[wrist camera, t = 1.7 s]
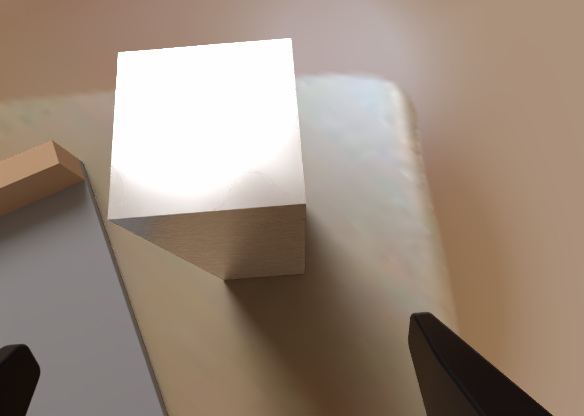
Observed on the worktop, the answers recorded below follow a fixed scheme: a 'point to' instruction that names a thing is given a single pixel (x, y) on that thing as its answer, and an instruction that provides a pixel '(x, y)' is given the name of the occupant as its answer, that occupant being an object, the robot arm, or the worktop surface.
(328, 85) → the worktop surface
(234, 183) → the aluminium post
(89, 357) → the corner arena
